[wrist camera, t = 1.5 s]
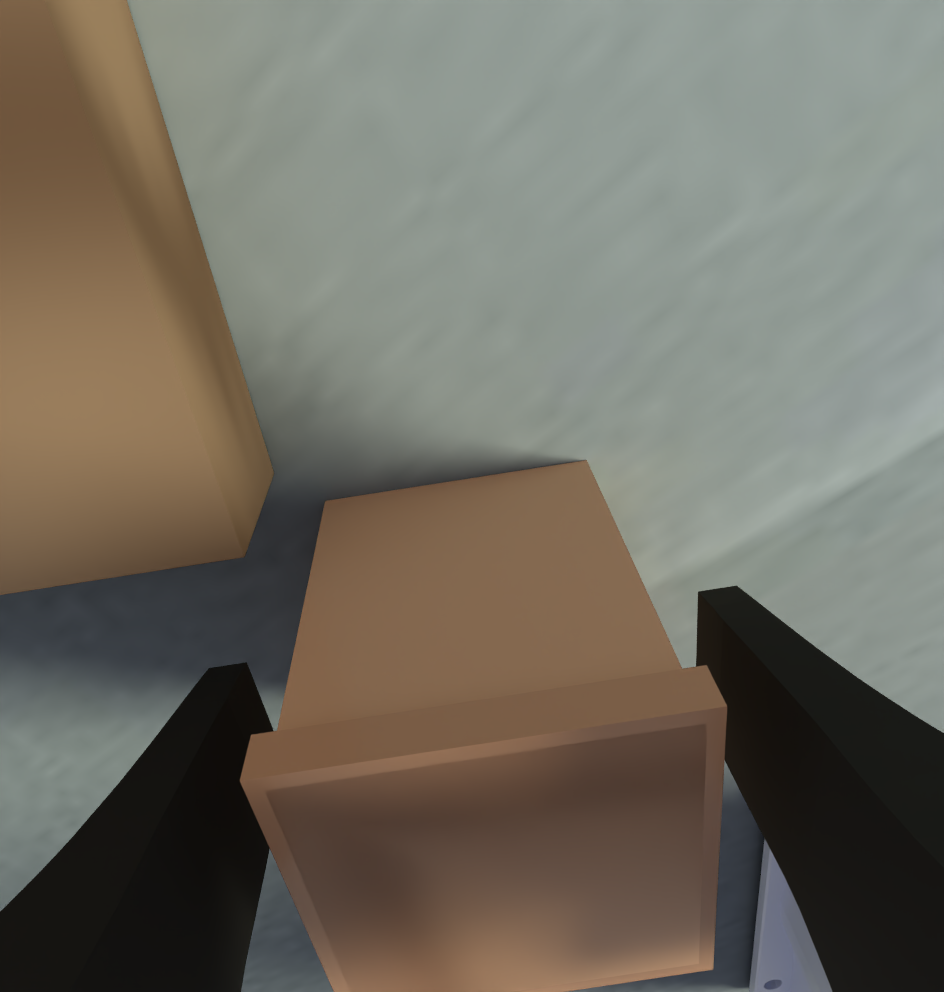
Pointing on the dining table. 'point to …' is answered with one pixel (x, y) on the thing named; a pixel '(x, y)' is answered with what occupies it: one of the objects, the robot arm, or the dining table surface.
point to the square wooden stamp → (491, 749)
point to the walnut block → (108, 321)
